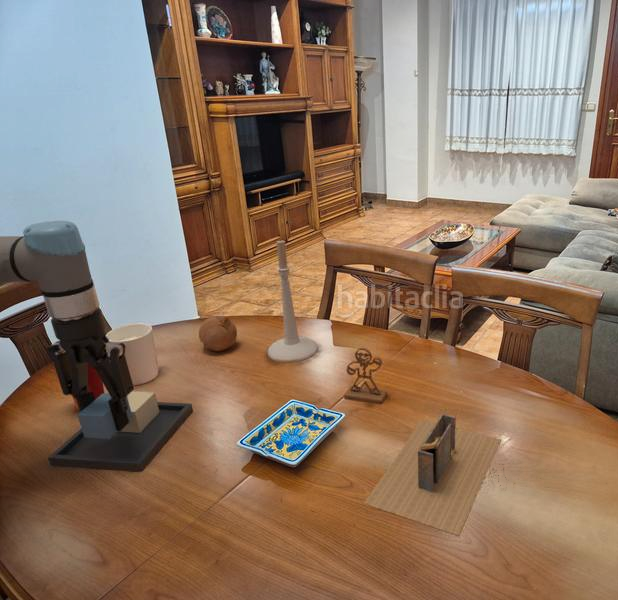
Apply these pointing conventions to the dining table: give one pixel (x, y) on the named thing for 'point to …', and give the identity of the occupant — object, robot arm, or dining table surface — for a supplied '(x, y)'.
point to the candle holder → (137, 350)
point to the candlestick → (289, 321)
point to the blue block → (99, 418)
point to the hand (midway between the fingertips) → (108, 425)
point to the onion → (217, 333)
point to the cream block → (141, 411)
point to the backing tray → (123, 443)
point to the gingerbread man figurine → (365, 393)
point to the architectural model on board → (436, 475)
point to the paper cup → (93, 383)
